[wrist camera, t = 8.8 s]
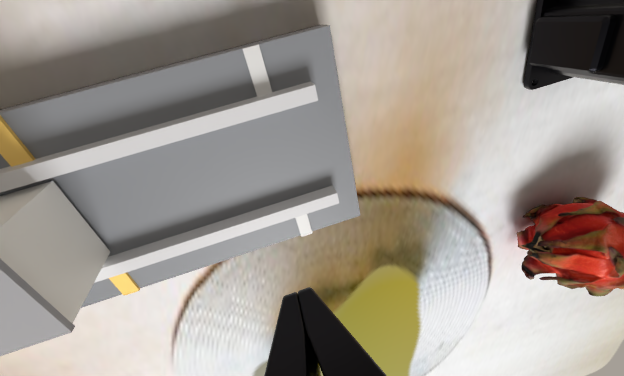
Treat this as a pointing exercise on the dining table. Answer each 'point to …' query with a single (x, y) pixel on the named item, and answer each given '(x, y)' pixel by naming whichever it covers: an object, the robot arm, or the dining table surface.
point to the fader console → (193, 157)
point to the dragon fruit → (576, 245)
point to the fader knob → (43, 265)
